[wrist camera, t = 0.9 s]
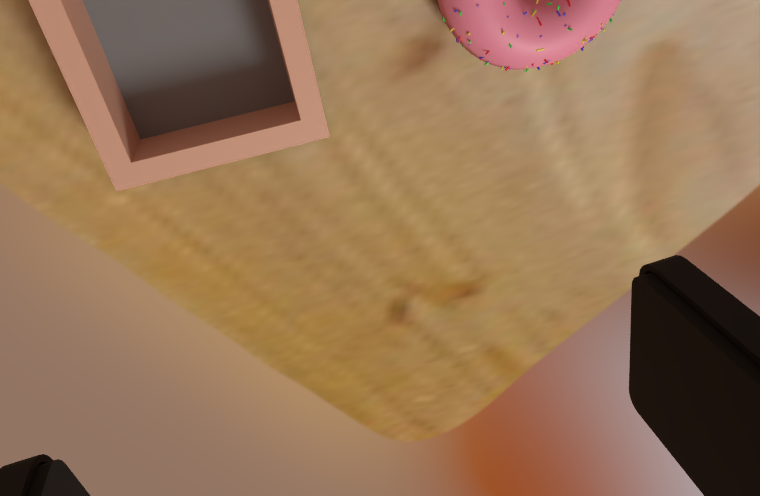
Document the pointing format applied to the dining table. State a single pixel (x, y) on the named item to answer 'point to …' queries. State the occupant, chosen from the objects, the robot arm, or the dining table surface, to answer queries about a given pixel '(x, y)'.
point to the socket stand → (185, 80)
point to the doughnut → (525, 28)
